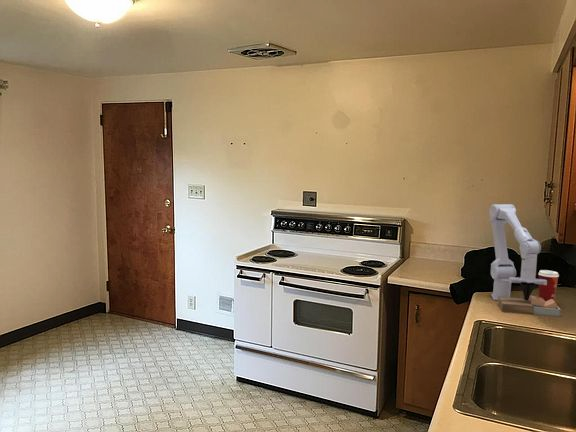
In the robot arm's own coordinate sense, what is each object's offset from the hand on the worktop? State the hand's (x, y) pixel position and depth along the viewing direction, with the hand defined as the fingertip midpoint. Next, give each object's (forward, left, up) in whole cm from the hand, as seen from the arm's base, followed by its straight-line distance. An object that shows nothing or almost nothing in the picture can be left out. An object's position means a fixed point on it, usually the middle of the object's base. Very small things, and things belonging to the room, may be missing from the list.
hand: (526, 299), depth 210 cm
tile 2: (0, +8, 0) cm, 8 cm away
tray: (0, +7, -4) cm, 8 cm away
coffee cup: (-12, +11, -5) cm, 17 cm away
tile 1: (0, +4, -1) cm, 4 cm away
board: (0, -4, -4) cm, 6 cm away
